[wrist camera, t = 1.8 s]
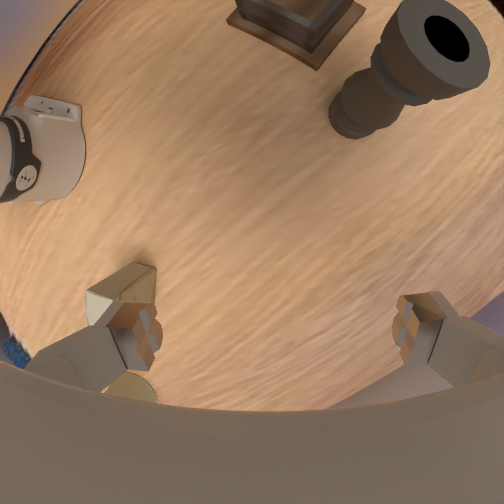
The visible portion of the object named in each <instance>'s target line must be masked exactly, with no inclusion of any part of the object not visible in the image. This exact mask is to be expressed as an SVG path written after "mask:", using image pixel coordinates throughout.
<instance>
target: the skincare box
mask: <svg viewBox="0 0 504 504" xmlns="http://www.w3.org/2000/svg"><path fill="white" fill-rule="evenodd" d="M155 282H156V268H153V267H149V266H145V265H142V264H138V263H134V262H133V263H131V264H129V265H128V266H126V267H124V268H122V269H121V270H119V271H117V272H116V273H114V274H112V275H110V276H109V277H107V278H105V279H104V280H102V281H100V282H99V283H97V284H95V285H94V286H92V287H90V288H89V289H87V290H85V303H86V316H87V325H88V326H89V325H91V326H93V325H94V324H95V323H96V321H97V320H98V319H99V318H100V317H101V315H102V314H103V313H104V312H105V310H106V309H107V308H108V307H109V306H110V304H111V303H112V302H113V301H134V302H152V303H153V304H154V297H155Z"/></svg>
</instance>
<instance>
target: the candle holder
mask: <svg viewBox="0 0 504 504" xmlns="http://www.w3.org/2000/svg"><path fill="white" fill-rule="evenodd" d="M489 68H490V60H489V55H488V50H487V46H486V44H485V42H484V40H483V38H482V36H481V34H480V32H479V31H478V29H477V28H476V26H475V25H474V24H473V23H472V22H471V21H470V20H469V18H468V17H467V16H466V15H465V14H464V13H463V12H461V11H460V10H459V9H457V8H456V7H455V6H453V5H452V4H450V3H449V2H447V1H445V0H403V1H402V2H401V4H400V5H399V7H398V8H397V10H396V11H395V12H394V14H393V15H392V17H391V18H390V20H389V21H388V23H387V24H386V26H385V28H384V31H383V33H382V35H381V43H379V44H378V45H376V47H375V49H374V51H373V53H372V56H371V67H370V68H367V69H364V70H361V71H358V72H355V73H354V74H353V75H351V76H350V77H349V78H348V79H347V80H346V81H345V83H344V85H343V88H342V90H341V92H339V93H338V94H337V95H336V96H335V98H334V100H333V101H332V103H331V105H330V108H329V120H330V122H331V125H332V127H333V128H334V129H335V130H336V131H337V132H338V133H339V134H340V135H342V136H344V137H346V138H350V139H359V138H363V137H366V136H368V135H370V134H372V133H373V132H374V131H376V130H377V129H381V128H385V127H388V126H390V125H391V124H392V123H393V122H394V121H396V120H397V118H398V116H399V115H400V113H401V111H402V109H403V107H404V105H405V104H406V105H410V106H418V105H422V104H427V103H428V102H430V101H431V100H432V99H434V100H440V99H446V98H451V97H453V96H456V95H458V94H461V93H463V92H466V91H469V90H471V89H474V88H477V87H479V86H480V85H481V84H482V83H483V82H484V81H485V80H486V79H487V77H488V72H489Z"/></svg>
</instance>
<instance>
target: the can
mask: <svg viewBox="0 0 504 504" xmlns="http://www.w3.org/2000/svg"><path fill="white" fill-rule="evenodd" d="M104 394H109V395H114V396H118V397H123V398H129V399H134V400H140V401H146V402H152V403H155V402H156V394H155V392H154V390H153V388H152V387H151V386H150V385H149V384H148V383H147V382H146V381H145V380H144V379H142V378H141V377H139V376H137V375H135V374H132V373H127V372H124V373H123V374H122V375H121V376H119V377H118V378H117V379H116V380H114V381H113V383H112V384H111V385H110V387H109V388H108V389H107V390H106V392H105V393H104Z"/></svg>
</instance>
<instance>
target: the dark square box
mask: <svg viewBox="0 0 504 504" xmlns="http://www.w3.org/2000/svg"><path fill="white" fill-rule="evenodd" d="M235 1H236V4H237V8H236V9H235V10H234V11H233V12H232V14H231V15H230V16H229V17H228V18H227V19H226V21H227V23H228V24H229V25H231V26H233V27H235V28H238V29H240V30H242V31H244V32H246V33H249V34H251V35H253V36H255V37H257V38H259V39H261V40H263V41H265V42H267V43H269V44H271V45H273V46H275V47H277V48H278V49H280V50H282V51H284V52H286V53H288V54H289V55H291V56H293V57H295V58H296V59H298V60H300V61H301V62H303V63H305V64H306V65H308V66H310V67H311V68H313V69H315V70H316V71H317V70H318V69H319V68H320V66H321V65H322V64H323V62H324V61H325V60H326V59H327V57H328V56H329V55H330V54H331V52H332V51H333V50H334V49H335V47H336V46H337V45H338V44H339V42H340V41H341V40H342V39H343V37H344V36H345V35H346V34H347V33H348V31H349V30H350V29H351V28H352V27H353V25H354V24H355V23H356V22H357V21H358V19H359V18H360V17H361V16H362V15H363V14H364V12H365V10H366V8H365V7H363V6H361V5H360V4H358V3H356V2H355V1H354V0H235Z"/></svg>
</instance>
